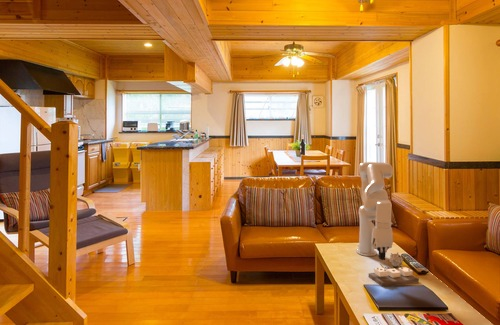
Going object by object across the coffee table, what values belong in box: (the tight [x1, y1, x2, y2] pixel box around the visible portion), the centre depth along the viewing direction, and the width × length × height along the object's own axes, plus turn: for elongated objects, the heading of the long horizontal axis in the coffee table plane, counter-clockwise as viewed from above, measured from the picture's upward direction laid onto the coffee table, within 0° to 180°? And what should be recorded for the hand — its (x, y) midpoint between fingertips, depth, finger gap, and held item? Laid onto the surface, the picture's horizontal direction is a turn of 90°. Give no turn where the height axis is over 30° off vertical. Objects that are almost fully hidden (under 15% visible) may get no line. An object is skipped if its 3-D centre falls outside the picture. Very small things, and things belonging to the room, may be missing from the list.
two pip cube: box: [397, 266, 414, 276], centre depth 182 cm, size 5×5×3 cm
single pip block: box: [385, 267, 401, 278], centre depth 180 cm, size 5×5×3 cm
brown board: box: [368, 272, 420, 288], centre depth 180 cm, size 12×22×2 cm, turn 104°
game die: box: [388, 252, 405, 269], centre depth 198 cm, size 9×8×10 cm
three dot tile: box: [373, 267, 388, 277], centre depth 178 cm, size 5×5×3 cm
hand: (381, 259), depth 177 cm, fingers closed
